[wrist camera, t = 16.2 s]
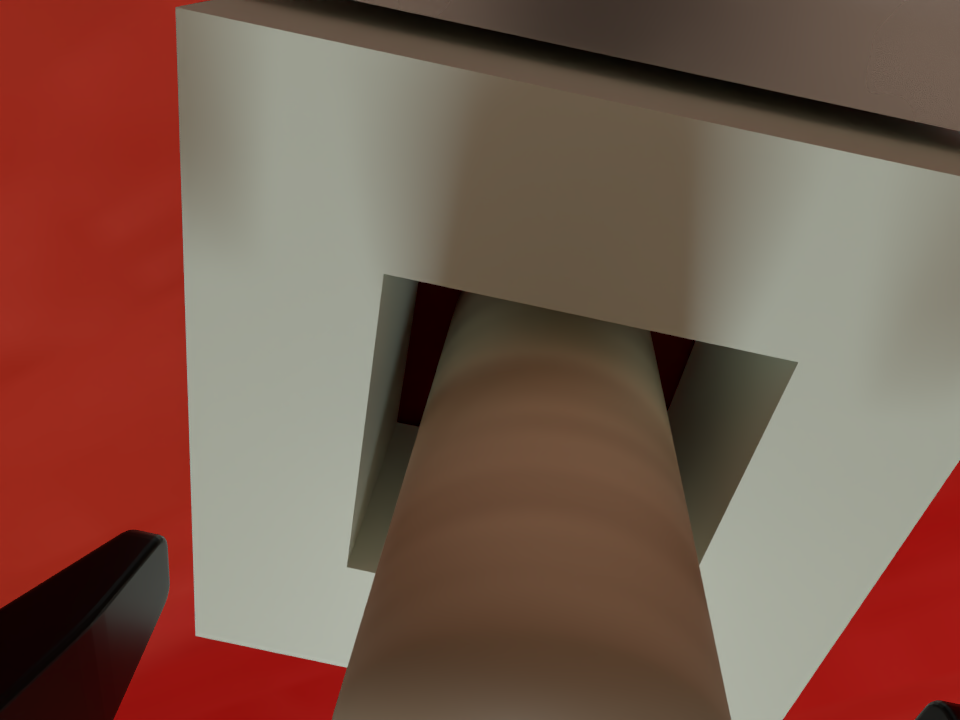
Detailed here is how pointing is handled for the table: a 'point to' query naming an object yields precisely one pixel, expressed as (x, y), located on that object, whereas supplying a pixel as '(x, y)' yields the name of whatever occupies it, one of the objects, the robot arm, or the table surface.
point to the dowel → (538, 538)
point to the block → (553, 305)
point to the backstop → (757, 43)
